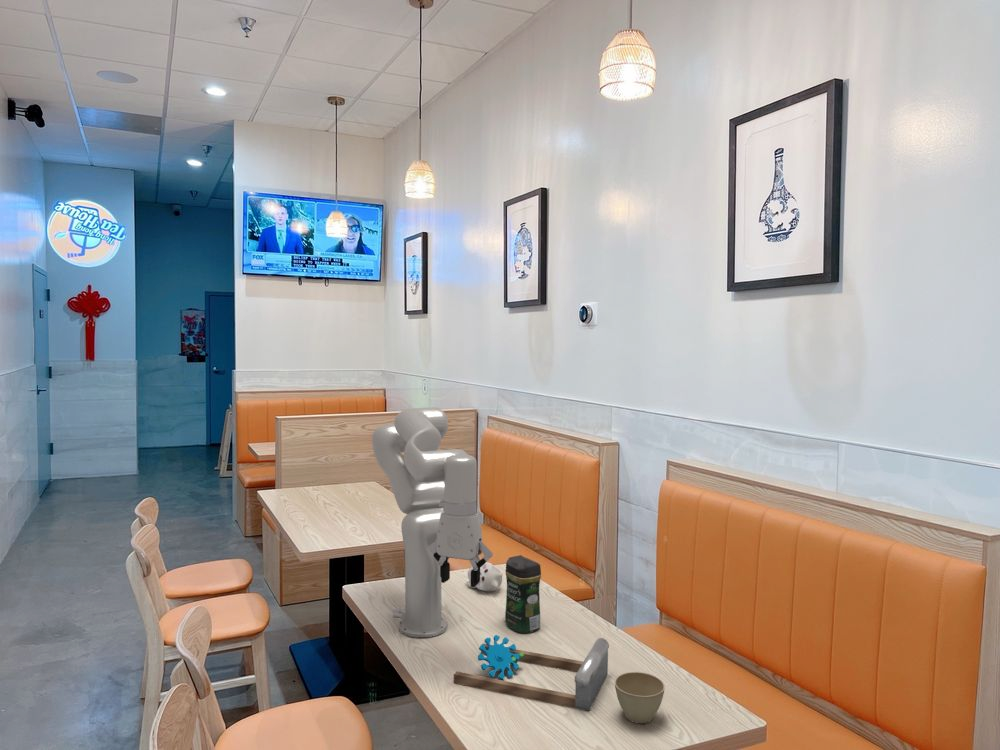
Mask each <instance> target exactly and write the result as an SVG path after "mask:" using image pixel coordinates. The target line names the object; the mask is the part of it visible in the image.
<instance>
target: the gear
mask: <svg viewBox="0 0 1000 750" xmlns="http://www.w3.org/2000/svg"><path fill="white" fill-rule="evenodd" d="M500 639H501V638H500V636H499V635H498V634H495V635H494V636H493V644H491V641H492V638H491V637H486V638H485V639H484V643H482V644H480V646H479V647H478V650H479V651H480V653H479V654H478V656H477V660H478V661H485V662H486V663H482V664H481V665H480V667H481V670H482V671H486V670H487V669H488V668H489V669H490V668H491V669H493V670H490V671H489V672H488V673H487V675H488V676H489V678H492V679H494V677H495V675H496V672H497V671H500V673H499V674H498V675H497V680H502V681H504V679H505V669H506V670H507V672H506V676H507V678H511V677H513V676H514V671H516V670H517V669H519V667H520V665H519V664H518V662H520V661H519V659H521V658H522V657H523V655H524V654H523V652H520V653H519V654H513V653H511V652H509V650H512V651H515V649H516V650H517V646H516V644H514V643H513V644H511V645H509V646H505V645H507V644H508V643H509V642H510V640H509V638H508V637H506V636H505V637H504V638H503V639H502V642H501V643H498V641H499V640H500ZM484 644H487V646H488V650H486V649H485V645H484ZM492 645H493V646H492ZM481 651H483V652H484V653H485V654H486V655H483V654H481ZM487 663H488V664H487ZM511 666H512V668H511ZM512 669H513V670H514V671H512Z"/></svg>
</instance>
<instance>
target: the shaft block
mask: <svg viewBox="0 0 1000 750" xmlns="http://www.w3.org/2000/svg"><path fill="white" fill-rule="evenodd" d="M609 647H610V644H609V641H607V639H605V638H603V637H599V638H597V639H596V641H595V642H594V643H593V645H592V647H591V649H590V650H589V652H588V654H587V656H586V657H585V659H584V661H583V664H582V665H581V667H580V669H579V670H578V672H576V674H575V675H574V682H575V690H574V693H575V694H574V695H575V708H574V709H577V710H578V709H579V710H582V711H587V712H590V710H591V708H592V706H593V705H594V703H595V701H596V699H597V697H598V694H599V692H600V690H601V688H602V687H603V685H604V683H605V681H606V679H607V676H608V671H609V669H608V667H609Z"/></svg>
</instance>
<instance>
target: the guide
mask: <svg viewBox="0 0 1000 750" xmlns="http://www.w3.org/2000/svg"><path fill="white" fill-rule="evenodd" d="M483 644H484V645H485V649H486V650H488V646H487V644H486V643H483ZM491 645H492V646H493V645H494V644H491ZM509 652H511V653H513V654H519V653H520V652H523V654H524V655H523V657H522V658H521V659H519V661H518V662H522V663H526V664H532V665H538V666H543V667H548V668H554V669H558V668H559V670H564V671H568V672H575V673H577V672H578V670H579V669H580V667H581V665H582V664H583V662H584V661H581V660H576V659H571V658H565V657H559V656H554V655H549V654H548V655H547V654H543V653H537V652H533V651H527V650H521V649H517V648H516V649H515V651H512V650H509ZM480 653H481V654H483V656H486V654H485V653H484V652H483V651H480ZM453 683H454V684H457V685H461V686H467V687H471V688H477V689H481V690H486V691H491V692H494V693H499V694H506V695H509V696H516V697H520V698H524V699H528V700H529V699H530V700H532V701H533V700H535V701H539V702H544V703H548V704H552V705H558V706H564V707H568V708H573V709H576V708H575V694H572V693H567V692H562V691H557V690H551V689H547V688H541V687H536V686H532V685H527V684H523V683H522V684H521V683H516V682H511V681H506V680H500V679H498V678H491V677H487V676H481V675H477V674H471V673H468V672H467V673H466V672H462V671H456V672H455V673H453Z"/></svg>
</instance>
